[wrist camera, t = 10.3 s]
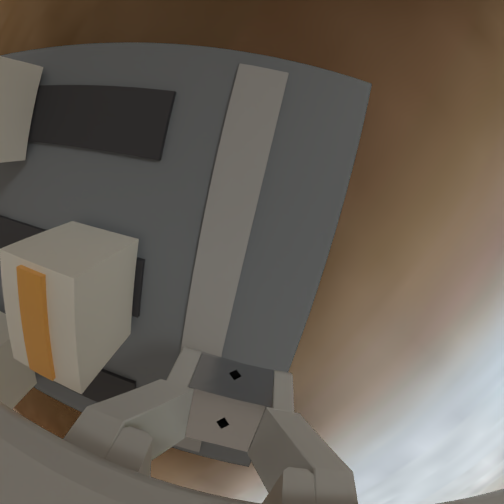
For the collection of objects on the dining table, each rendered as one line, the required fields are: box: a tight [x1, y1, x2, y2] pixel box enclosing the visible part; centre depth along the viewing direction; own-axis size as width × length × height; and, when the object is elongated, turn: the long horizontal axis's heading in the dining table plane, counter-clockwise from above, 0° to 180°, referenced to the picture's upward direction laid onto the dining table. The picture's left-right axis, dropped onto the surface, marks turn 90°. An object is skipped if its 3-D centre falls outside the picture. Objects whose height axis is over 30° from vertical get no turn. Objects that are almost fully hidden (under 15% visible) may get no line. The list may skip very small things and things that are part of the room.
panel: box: [0, 43, 372, 467], centre depth 13 cm, size 22×18×2 cm
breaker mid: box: [0, 221, 139, 394], centre depth 9 cm, size 3×4×4 cm
